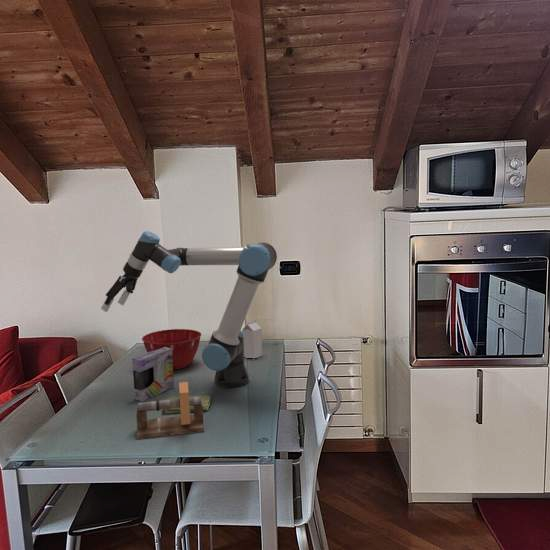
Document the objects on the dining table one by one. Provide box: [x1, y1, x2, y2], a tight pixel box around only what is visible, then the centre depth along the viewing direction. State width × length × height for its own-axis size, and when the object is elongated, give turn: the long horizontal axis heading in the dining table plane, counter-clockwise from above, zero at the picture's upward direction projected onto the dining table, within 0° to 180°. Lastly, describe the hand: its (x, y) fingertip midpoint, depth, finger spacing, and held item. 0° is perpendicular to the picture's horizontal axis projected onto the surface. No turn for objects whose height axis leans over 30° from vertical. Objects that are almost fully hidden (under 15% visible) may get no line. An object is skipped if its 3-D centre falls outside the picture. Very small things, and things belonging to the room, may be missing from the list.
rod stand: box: [135, 397, 205, 440], centre depth 167 cm, size 22×12×10 cm, turn 102°
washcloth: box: [161, 394, 212, 415], centre depth 186 cm, size 13×18×3 cm
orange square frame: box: [178, 381, 191, 425], centre depth 167 cm, size 3×11×11 cm, turn 12°
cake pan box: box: [131, 347, 175, 402], centre depth 200 cm, size 19×5×18 cm, turn 147°
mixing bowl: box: [141, 328, 202, 371], centre depth 239 cm, size 28×28×15 cm
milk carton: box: [241, 319, 263, 359], centre depth 249 cm, size 7×7×19 cm
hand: (112, 306), depth 207 cm, fingers open, 13 cm apart
